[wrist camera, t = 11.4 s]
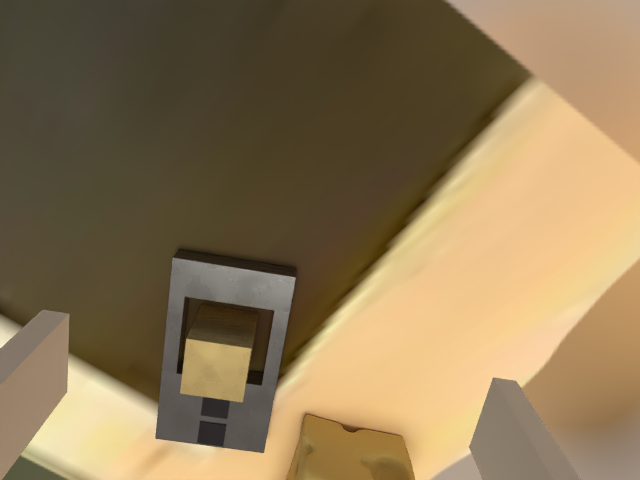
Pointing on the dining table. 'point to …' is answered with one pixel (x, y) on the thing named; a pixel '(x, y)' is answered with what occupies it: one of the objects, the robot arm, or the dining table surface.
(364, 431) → the cheese
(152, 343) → the dining table surface
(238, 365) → the yellow cube
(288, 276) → the metal plate
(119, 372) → the dining table surface
